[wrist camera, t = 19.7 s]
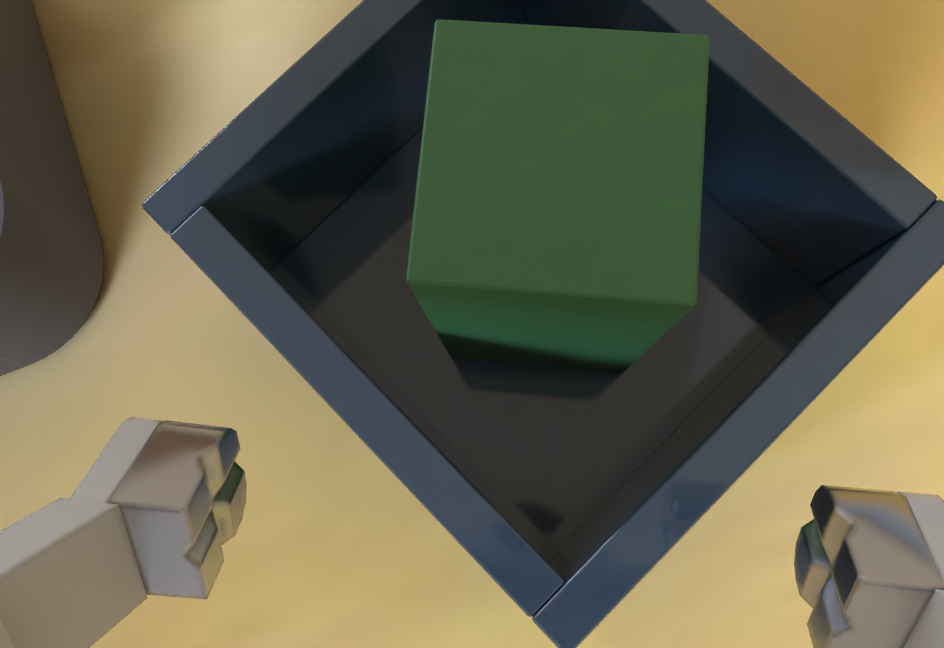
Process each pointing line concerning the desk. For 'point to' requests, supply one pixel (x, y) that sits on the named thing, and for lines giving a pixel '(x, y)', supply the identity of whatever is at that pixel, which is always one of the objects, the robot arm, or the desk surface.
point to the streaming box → (39, 204)
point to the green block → (559, 191)
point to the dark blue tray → (545, 386)
